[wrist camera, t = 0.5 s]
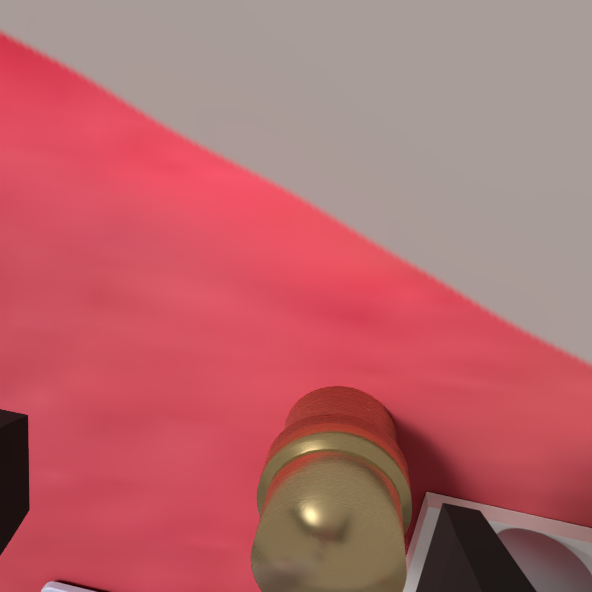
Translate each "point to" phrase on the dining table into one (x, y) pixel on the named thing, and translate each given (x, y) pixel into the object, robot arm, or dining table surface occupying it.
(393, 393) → the dining table surface
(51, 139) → the dining table surface
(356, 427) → the cylinder
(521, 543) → the fitting
